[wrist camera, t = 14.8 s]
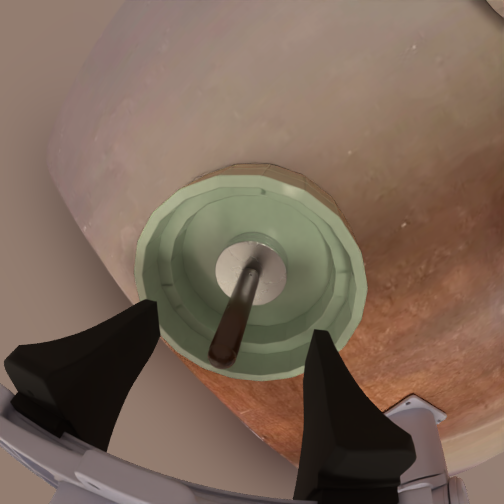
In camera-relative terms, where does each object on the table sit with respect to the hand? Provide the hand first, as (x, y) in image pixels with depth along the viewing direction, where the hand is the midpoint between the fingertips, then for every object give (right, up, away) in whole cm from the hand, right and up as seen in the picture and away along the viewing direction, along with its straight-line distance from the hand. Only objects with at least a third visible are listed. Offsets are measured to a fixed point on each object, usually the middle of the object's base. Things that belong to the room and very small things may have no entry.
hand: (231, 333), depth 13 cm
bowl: (+1, +3, +7) cm, 8 cm away
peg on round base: (+1, +3, +6) cm, 7 cm away
